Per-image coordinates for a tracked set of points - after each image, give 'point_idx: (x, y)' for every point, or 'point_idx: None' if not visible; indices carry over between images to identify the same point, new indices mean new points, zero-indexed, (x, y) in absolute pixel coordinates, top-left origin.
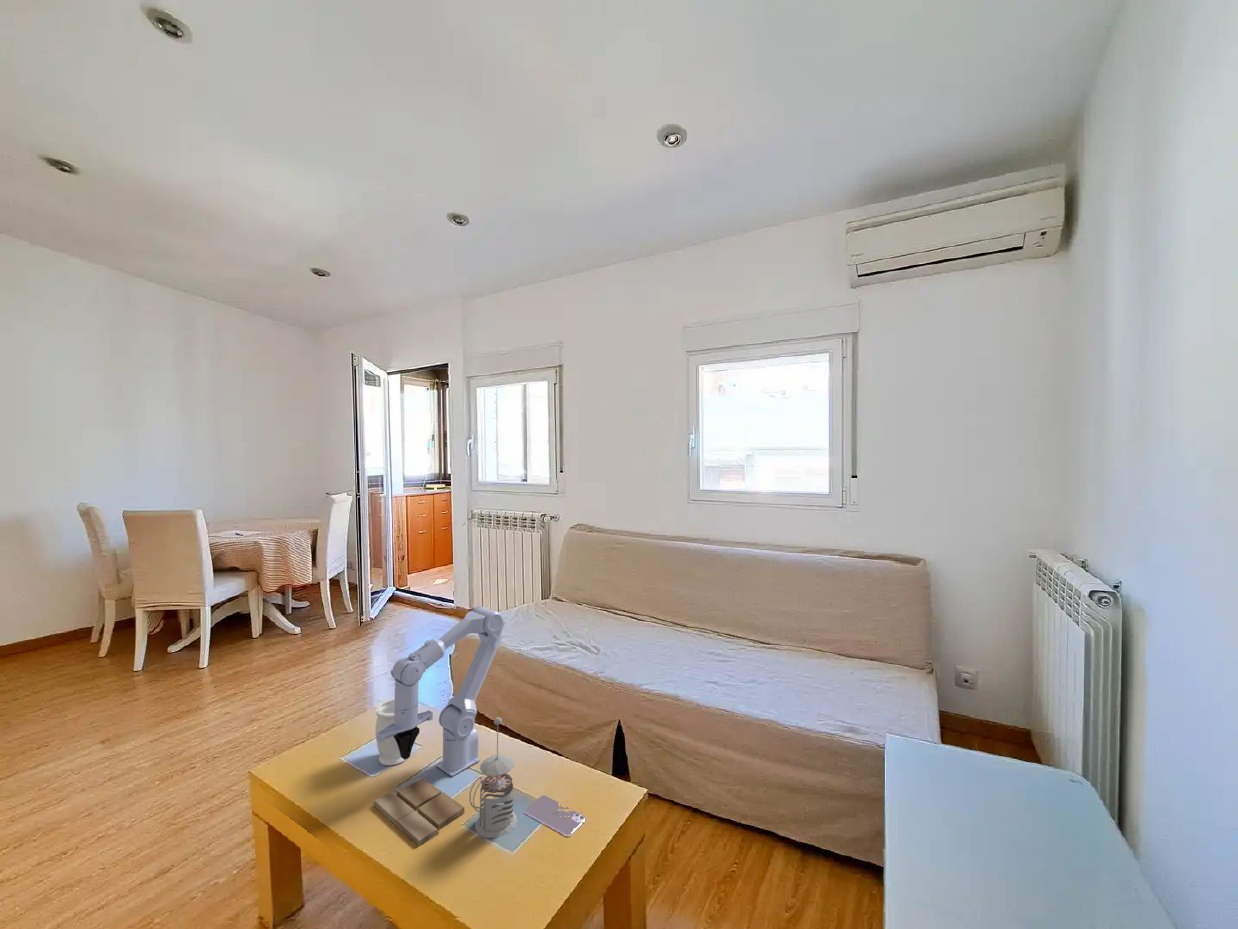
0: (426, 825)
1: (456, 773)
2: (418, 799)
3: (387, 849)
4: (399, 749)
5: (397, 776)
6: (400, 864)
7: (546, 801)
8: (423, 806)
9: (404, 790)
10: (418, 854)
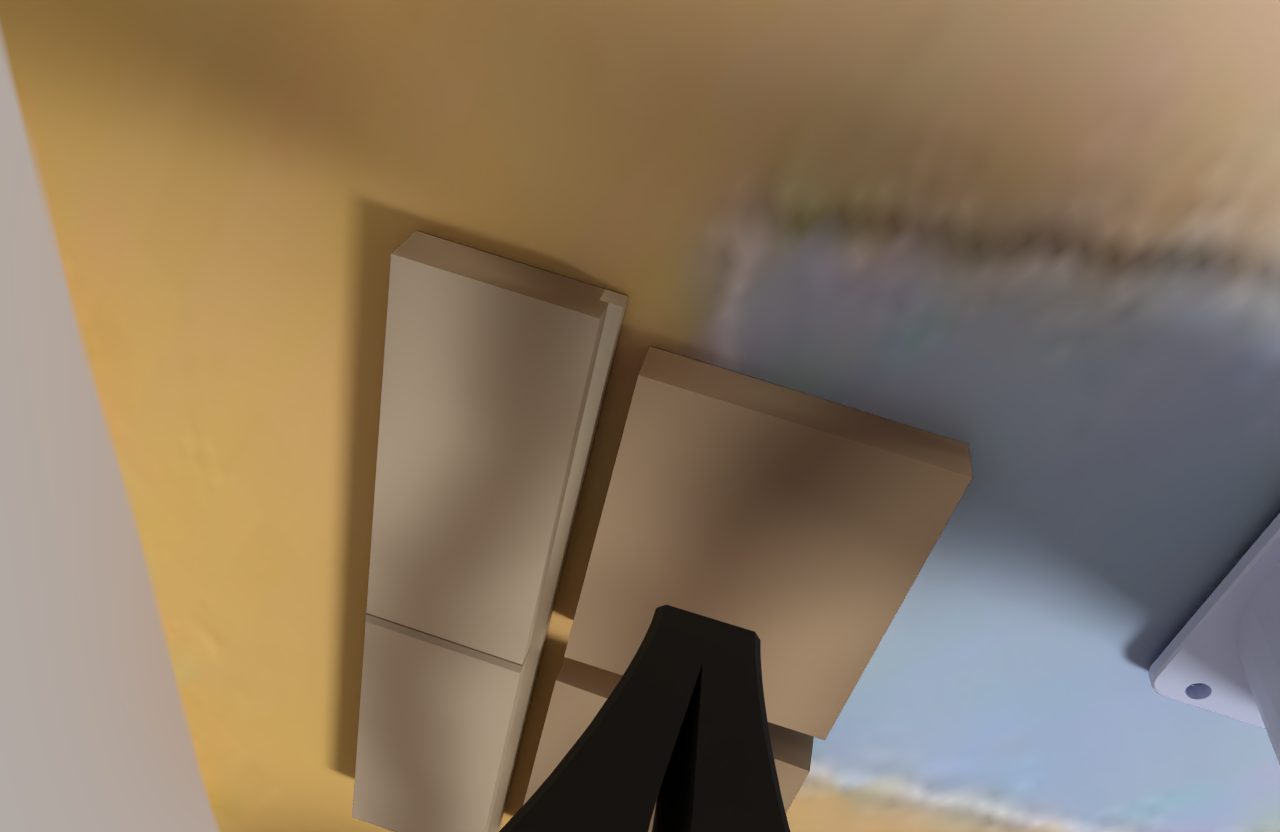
0: (460, 801)
1: (1205, 704)
2: (641, 632)
3: (231, 649)
4: (600, 716)
5: (989, 37)
6: (229, 759)
7: None
8: (589, 710)
9: (683, 440)
10: (330, 802)
